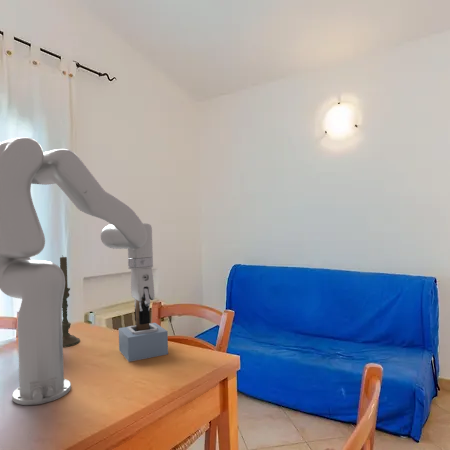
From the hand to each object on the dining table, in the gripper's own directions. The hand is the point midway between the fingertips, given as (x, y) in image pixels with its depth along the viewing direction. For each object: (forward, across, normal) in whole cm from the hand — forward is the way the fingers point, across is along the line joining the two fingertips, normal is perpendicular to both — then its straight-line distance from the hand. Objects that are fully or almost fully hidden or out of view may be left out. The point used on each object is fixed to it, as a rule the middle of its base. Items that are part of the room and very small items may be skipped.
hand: (142, 321), depth 119 cm
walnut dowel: (+5, 0, 0) cm, 5 cm away
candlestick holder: (+10, +24, +20) cm, 33 cm away
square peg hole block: (+9, 0, 0) cm, 9 cm away
